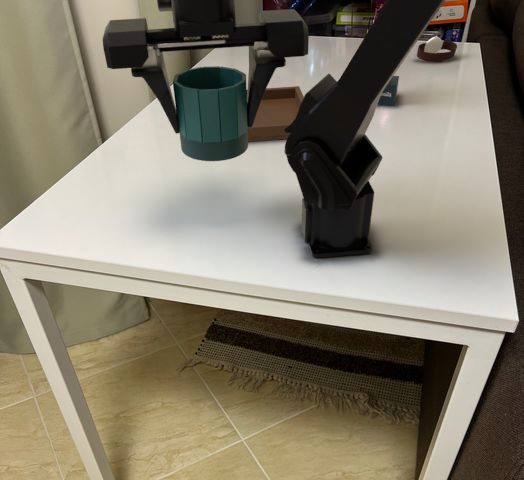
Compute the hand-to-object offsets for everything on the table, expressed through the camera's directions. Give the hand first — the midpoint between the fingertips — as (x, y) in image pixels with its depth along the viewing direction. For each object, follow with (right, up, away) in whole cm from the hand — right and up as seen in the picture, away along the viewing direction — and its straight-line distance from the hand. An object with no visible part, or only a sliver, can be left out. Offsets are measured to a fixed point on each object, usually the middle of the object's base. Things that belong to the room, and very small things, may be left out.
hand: (213, 129), depth 58 cm
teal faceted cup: (-2, +3, +1) cm, 4 cm away
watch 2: (+38, +32, +47) cm, 68 cm away
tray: (+5, +12, +27) cm, 30 cm away
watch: (+24, +18, +32) cm, 44 cm away
